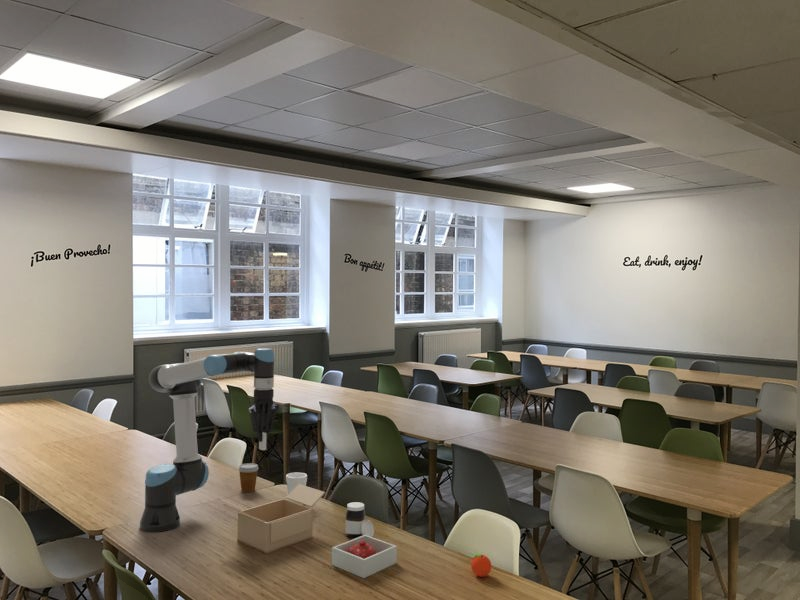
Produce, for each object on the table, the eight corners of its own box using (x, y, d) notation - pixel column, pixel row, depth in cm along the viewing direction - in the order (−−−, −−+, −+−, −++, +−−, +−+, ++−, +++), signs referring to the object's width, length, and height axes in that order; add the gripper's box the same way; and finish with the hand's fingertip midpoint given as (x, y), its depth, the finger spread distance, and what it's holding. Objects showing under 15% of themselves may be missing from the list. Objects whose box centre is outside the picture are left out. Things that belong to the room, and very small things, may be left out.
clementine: (465, 577, 210) (465, 556, 210) (470, 569, 217) (470, 549, 217) (488, 581, 207) (489, 560, 207) (493, 573, 214) (493, 552, 214)
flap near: (265, 520, 228) (264, 522, 227) (239, 510, 238) (238, 511, 238) (249, 514, 222) (248, 515, 222) (223, 504, 233) (223, 505, 233)
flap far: (324, 492, 250) (325, 492, 250) (298, 483, 260) (299, 484, 260) (311, 506, 244) (311, 507, 245) (285, 497, 255) (285, 498, 255)
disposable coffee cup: (238, 494, 295) (238, 468, 295) (237, 488, 304) (238, 463, 304) (258, 492, 298) (259, 467, 298) (257, 487, 307) (258, 462, 307)
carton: (267, 554, 227) (268, 523, 227) (236, 540, 239) (237, 511, 239) (313, 537, 243) (313, 509, 243) (282, 525, 256) (282, 498, 256)
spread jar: (347, 529, 253) (347, 500, 253) (374, 530, 252) (375, 501, 252) (343, 540, 241) (344, 510, 241) (372, 541, 240) (373, 511, 240)
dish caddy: (363, 578, 208) (364, 560, 208) (331, 564, 219) (332, 547, 219) (396, 562, 221) (396, 546, 221) (364, 550, 231) (365, 534, 231)
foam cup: (302, 508, 277) (302, 479, 277) (282, 506, 279) (282, 477, 279) (309, 501, 286) (309, 473, 286) (290, 499, 288) (290, 471, 288)
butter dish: (355, 574, 211) (355, 549, 211) (340, 562, 221) (340, 538, 221) (384, 567, 217) (384, 543, 217) (368, 556, 227) (369, 532, 227)
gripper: (254, 391, 234) (253, 454, 234) (283, 388, 244) (282, 448, 244) (243, 388, 240) (242, 450, 240) (272, 385, 249) (270, 445, 249)
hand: (262, 449), depth 242 cm, fingers closed
